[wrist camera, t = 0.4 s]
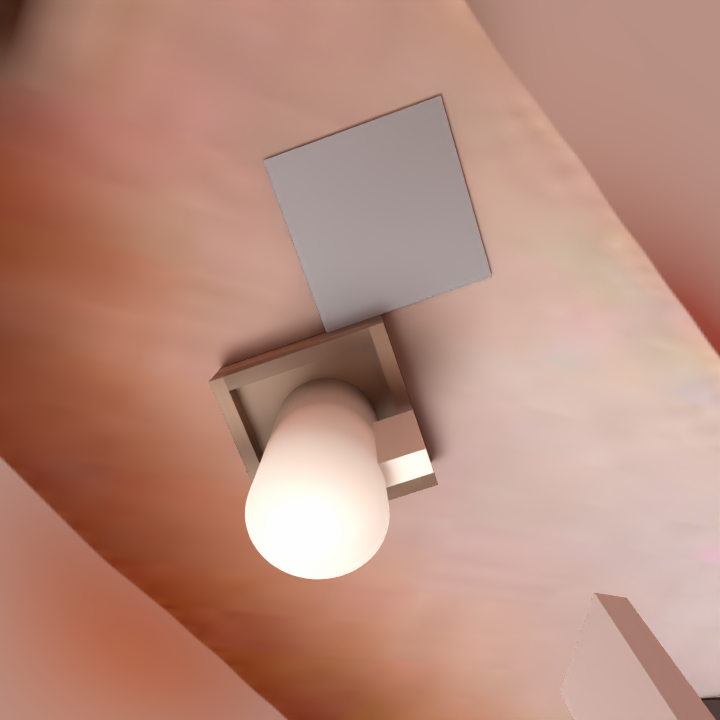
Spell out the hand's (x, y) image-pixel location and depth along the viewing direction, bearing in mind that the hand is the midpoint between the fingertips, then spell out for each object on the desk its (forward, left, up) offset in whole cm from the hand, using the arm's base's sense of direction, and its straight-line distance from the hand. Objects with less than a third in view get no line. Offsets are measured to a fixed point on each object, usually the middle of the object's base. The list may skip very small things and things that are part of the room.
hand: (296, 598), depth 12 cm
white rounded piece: (-5, +1, -25) cm, 26 cm away
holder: (-5, +2, -28) cm, 28 cm away
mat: (+7, -6, -28) cm, 29 cm away
